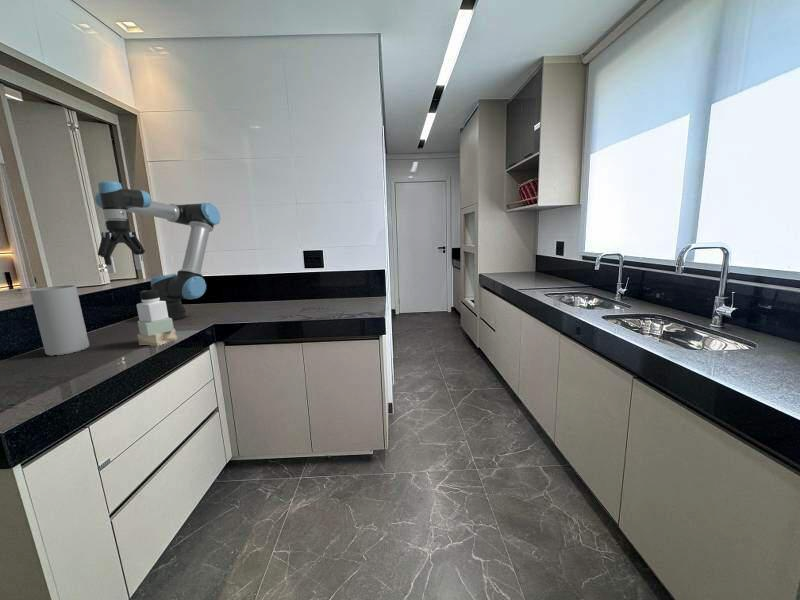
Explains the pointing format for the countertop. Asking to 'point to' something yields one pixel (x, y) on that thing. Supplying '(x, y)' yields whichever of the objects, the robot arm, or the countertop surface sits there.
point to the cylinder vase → (60, 319)
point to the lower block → (157, 338)
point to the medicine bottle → (151, 307)
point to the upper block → (155, 326)
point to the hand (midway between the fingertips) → (126, 271)
